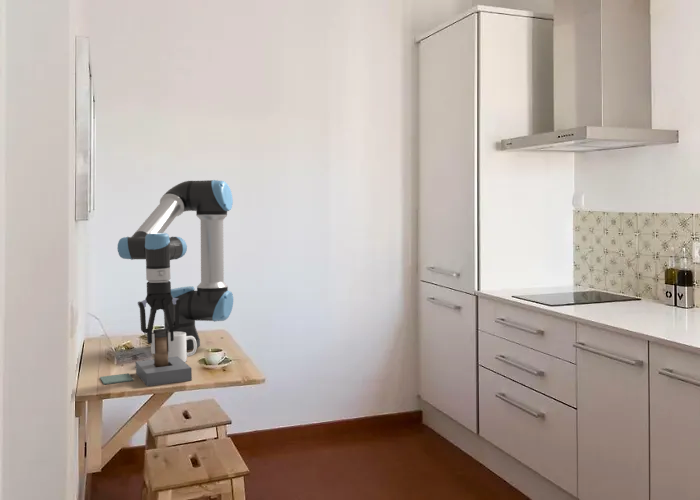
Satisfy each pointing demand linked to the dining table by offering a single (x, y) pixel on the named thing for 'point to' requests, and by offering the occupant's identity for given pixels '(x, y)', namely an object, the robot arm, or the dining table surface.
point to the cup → (181, 346)
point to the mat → (116, 378)
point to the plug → (161, 348)
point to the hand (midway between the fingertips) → (160, 351)
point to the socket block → (163, 372)
